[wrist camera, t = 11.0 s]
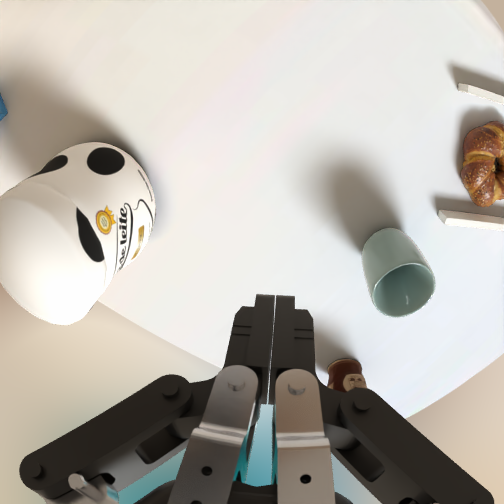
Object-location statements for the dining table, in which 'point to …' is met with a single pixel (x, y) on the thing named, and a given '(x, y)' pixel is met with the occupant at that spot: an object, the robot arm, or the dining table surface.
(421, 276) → the cup
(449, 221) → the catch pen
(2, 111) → the perfume bottle
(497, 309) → the dining table surface
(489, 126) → the pretzel
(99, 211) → the milk container
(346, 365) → the coffee cup
